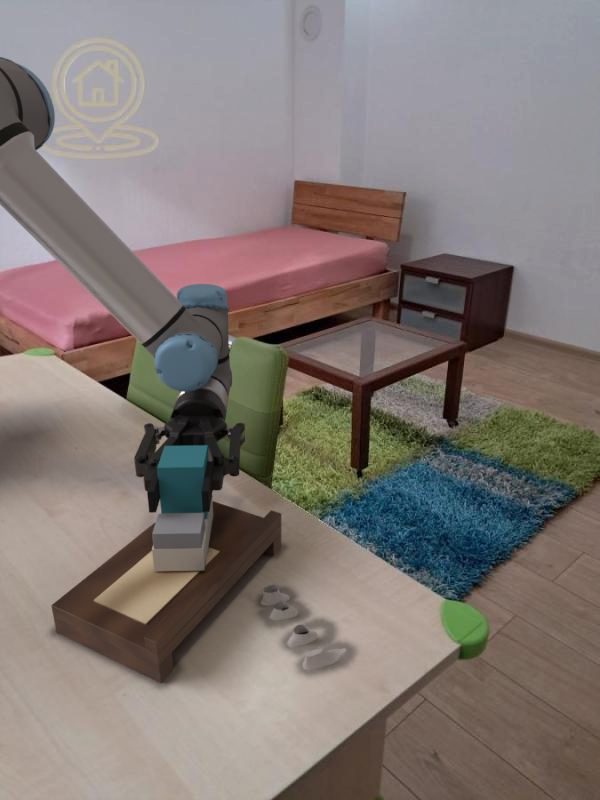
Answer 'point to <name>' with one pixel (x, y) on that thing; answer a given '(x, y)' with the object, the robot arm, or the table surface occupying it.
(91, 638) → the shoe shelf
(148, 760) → the table surface
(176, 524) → the stacked toy blocks
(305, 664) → the baby socks
